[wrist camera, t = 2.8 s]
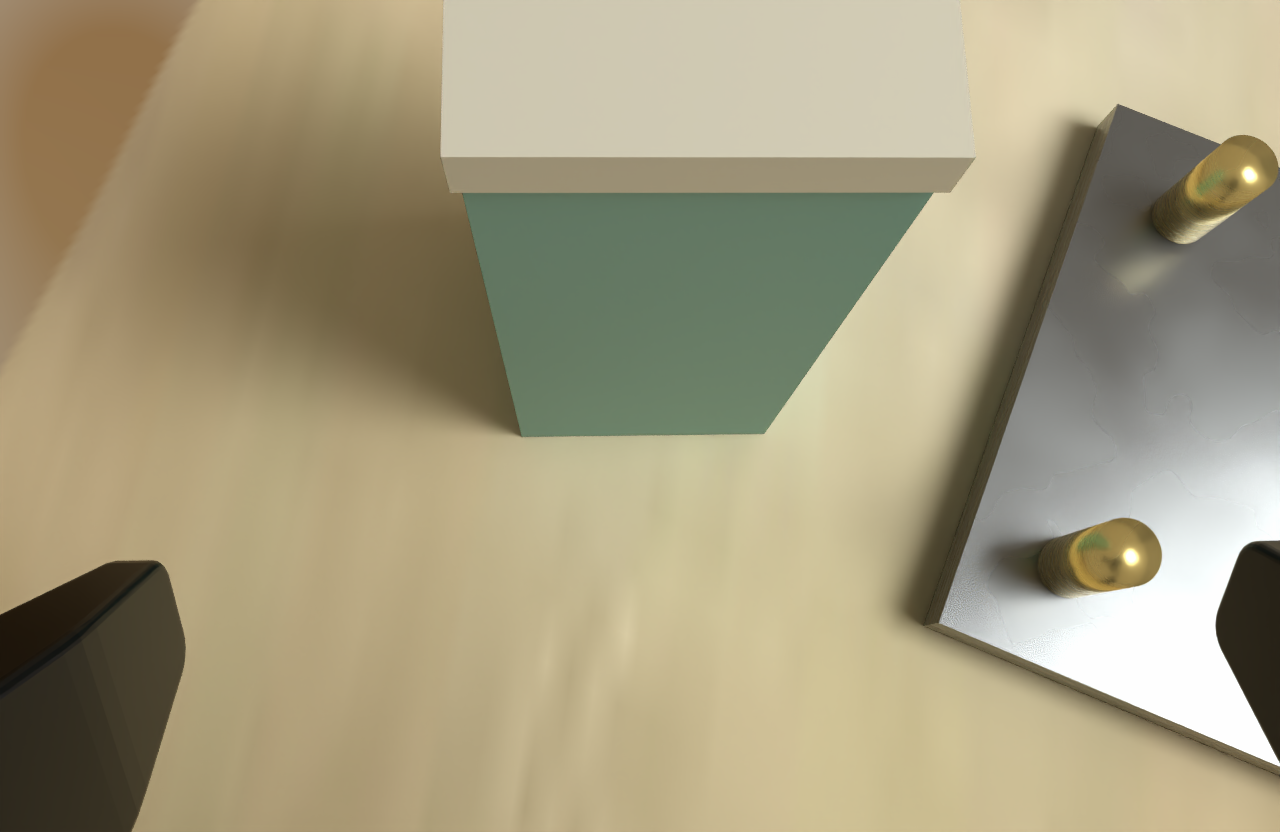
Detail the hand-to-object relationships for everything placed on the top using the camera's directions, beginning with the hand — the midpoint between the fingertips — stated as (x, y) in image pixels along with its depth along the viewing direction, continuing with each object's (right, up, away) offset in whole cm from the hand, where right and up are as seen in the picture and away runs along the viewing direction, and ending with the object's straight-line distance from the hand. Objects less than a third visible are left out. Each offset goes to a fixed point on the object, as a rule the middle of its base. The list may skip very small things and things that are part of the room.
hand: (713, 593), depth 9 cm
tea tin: (-1, +4, +14) cm, 15 cm away
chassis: (+13, 0, +14) cm, 19 cm away
